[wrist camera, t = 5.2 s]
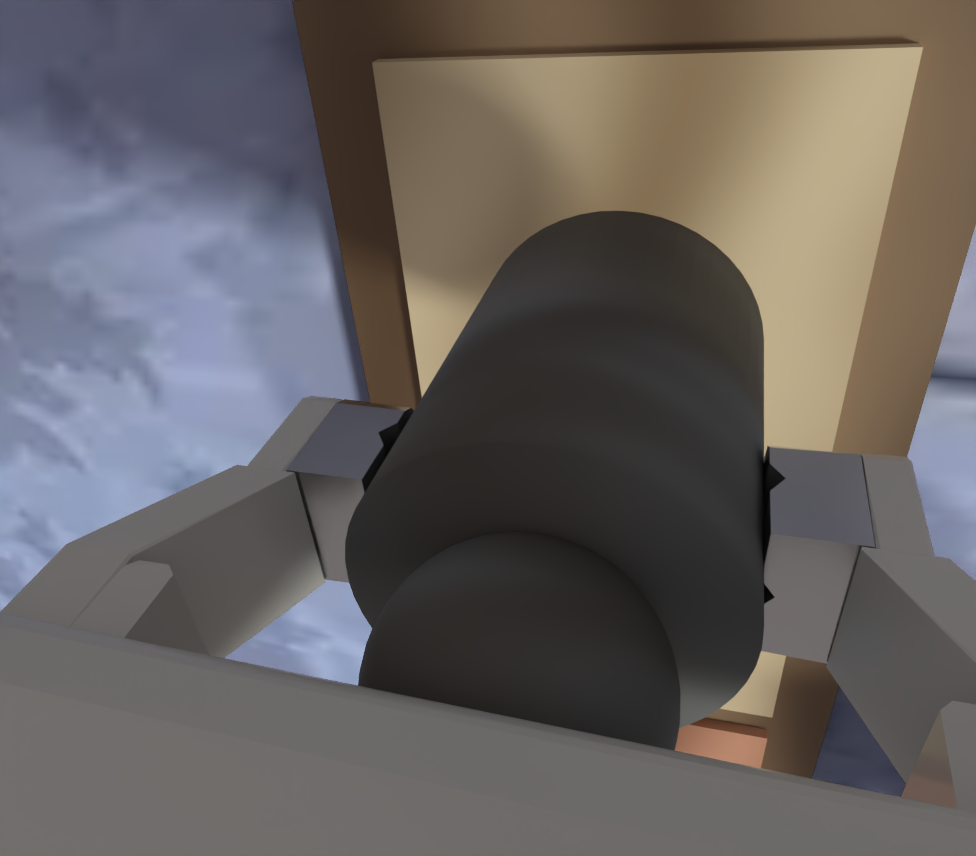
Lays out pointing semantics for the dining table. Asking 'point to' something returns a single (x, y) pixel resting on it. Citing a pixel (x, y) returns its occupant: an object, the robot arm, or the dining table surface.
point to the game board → (668, 203)
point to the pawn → (579, 492)
